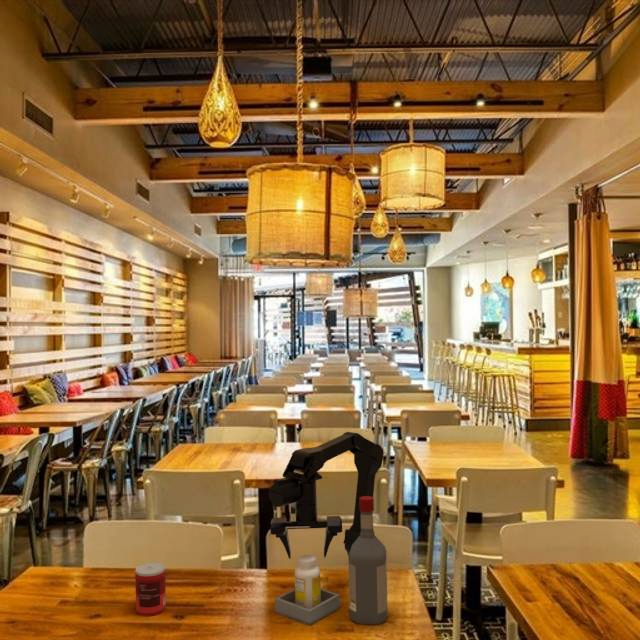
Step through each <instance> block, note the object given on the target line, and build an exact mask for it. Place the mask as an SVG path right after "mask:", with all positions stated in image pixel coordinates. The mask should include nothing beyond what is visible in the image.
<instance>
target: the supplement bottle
mask: <svg viewBox="0 0 640 640" xmlns="http://www.w3.org/2000/svg"><path fill="white" fill-rule="evenodd" d="M297 564H298V566H297V567H296V568H295V570H294V589H295V601H296V605H299V606H302V607H304V608H307V609H311V608H313V607H315V606H316V605H318V604H320V603H321V589H322V588H321V570H320V568H319V567H318V566H317V565H316V564H317V557H316V556H314V555H312V554H305V555H300V556H299V557H298V559H297Z"/></svg>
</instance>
